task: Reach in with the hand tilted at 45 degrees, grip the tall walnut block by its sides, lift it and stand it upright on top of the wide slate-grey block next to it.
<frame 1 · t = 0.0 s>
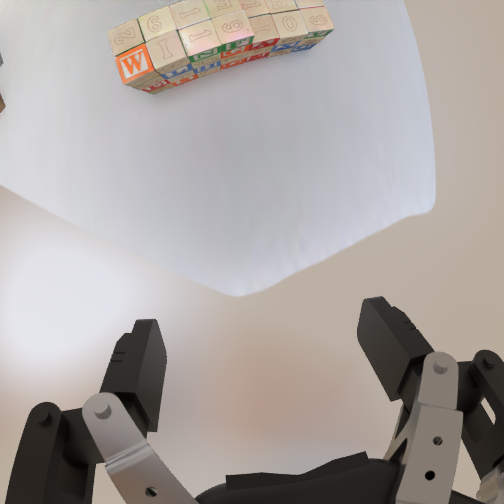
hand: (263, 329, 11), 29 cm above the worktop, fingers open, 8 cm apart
stack of blocks: (224, 47, 30), on the worktop
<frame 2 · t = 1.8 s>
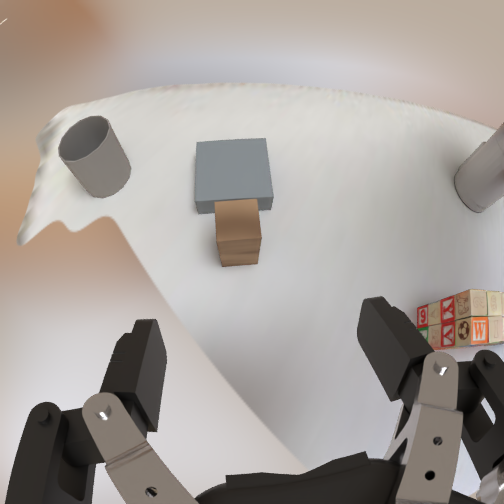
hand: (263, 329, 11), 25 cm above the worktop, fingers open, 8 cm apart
stack of blocks: (465, 328, 36), on the worktop
slate block: (233, 182, 42), on the worktop
cup: (108, 176, 42), on the worktop
walnut block: (238, 248, 38), on the worktop
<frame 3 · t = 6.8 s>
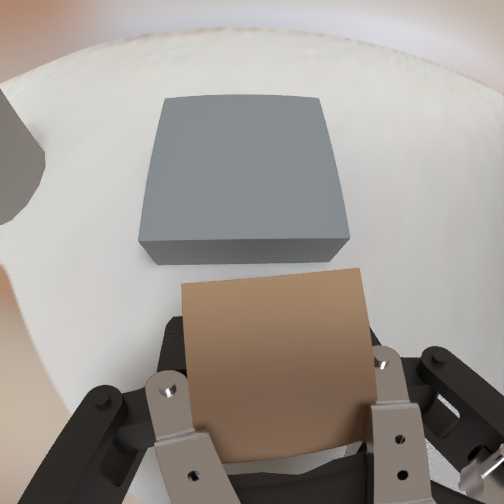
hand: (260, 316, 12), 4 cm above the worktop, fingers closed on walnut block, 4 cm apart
slate block: (242, 191, 19), on the worktop
cup: (11, 184, 18), on the worktop
walnut block: (259, 361, 15), on the worktop, touching gripper
when the fingers open (10 cm above the worktop, at t = 12.1 s): walnut block drops 2 cm, resting on slate block.
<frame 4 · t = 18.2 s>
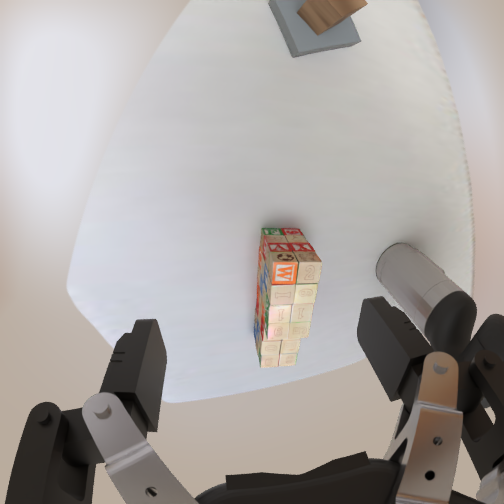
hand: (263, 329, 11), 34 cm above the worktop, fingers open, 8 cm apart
stack of blocks: (274, 285, 51), on the worktop
slate block: (310, 24, 33), on the worktop, touching walnut block
walnut block: (318, 17, 29), point 4 cm above the worktop, touching slate block
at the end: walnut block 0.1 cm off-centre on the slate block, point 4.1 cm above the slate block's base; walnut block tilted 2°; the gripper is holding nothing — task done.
